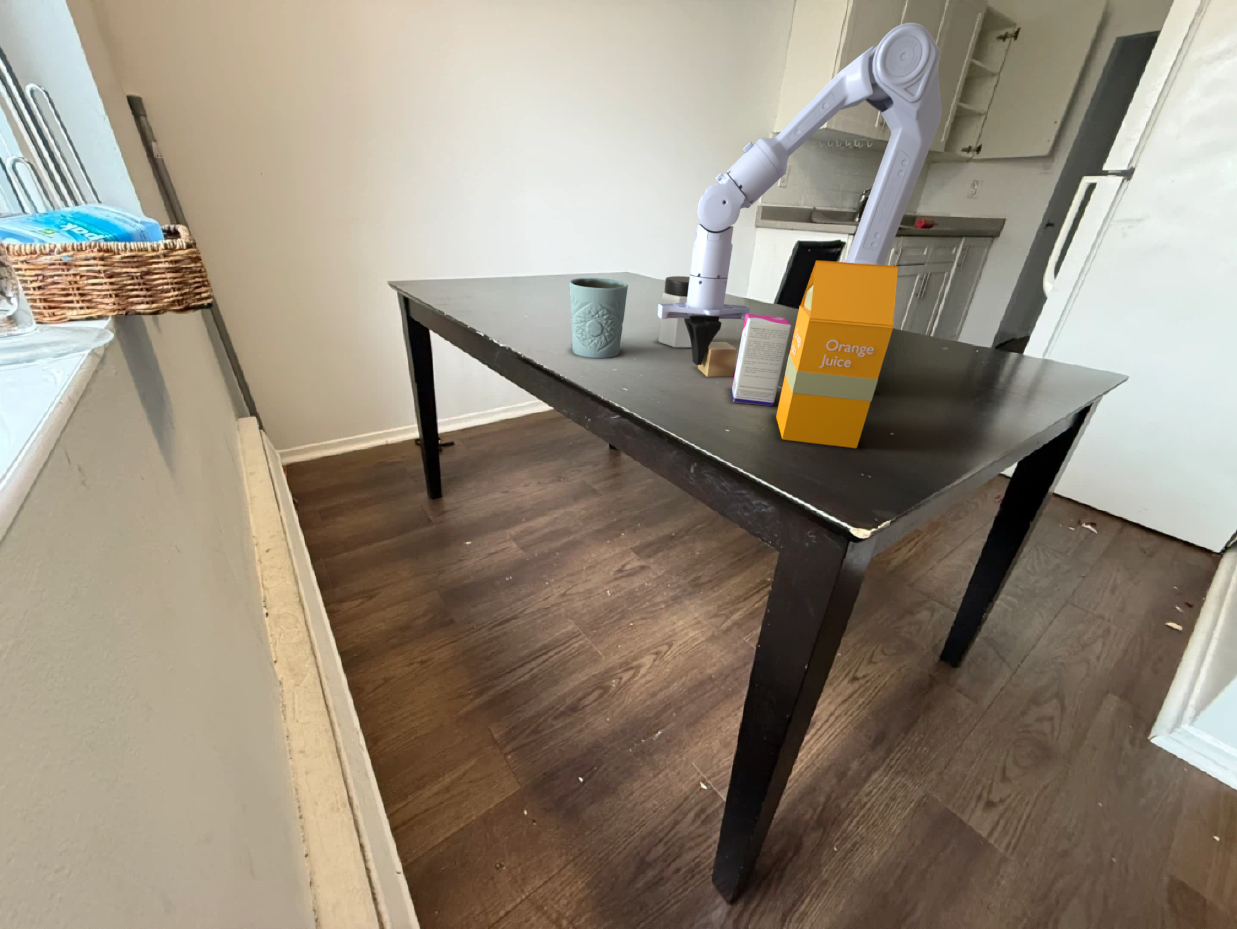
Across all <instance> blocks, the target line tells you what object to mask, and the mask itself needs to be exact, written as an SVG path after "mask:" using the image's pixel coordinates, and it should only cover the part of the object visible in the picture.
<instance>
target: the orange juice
mask: <svg viewBox="0 0 1237 929" xmlns="http://www.w3.org/2000/svg"><path fill="white" fill-rule="evenodd" d="M898 273H899V265H887V264H884V265H875V264H861V263H847V262H845V261H831V260H817V259H816V260H815V263H814V265H813V268H812V272H811V273H810V277H809V280H808V283H807V285H806V288H805V290H804V294H803V297H802V300H801V303H800V305H799V308H798V312H797V317H796V321H795V326H794V331H793V336H792V340H791V346H790V350H789V354H788V357H787V362H786V367H785V372H784V378H783V383H782V388H781V392H780V396H779V401H778V406H777V411H776V415H775V418H776V421H777V424H778V429H779V433H780V437H781V440H784V441H792V442H801V443H802V442H803V443H808V444H809V443H810V444H816V445H817V444H818V445H827V446H835V447H844V448H851V449H857V448H858V446H859V441H860V439H861V435H862V432H863V429H864V425H865V422H866V420H867V419H866V418H867V415H868V412H869V408H870V406H871V402H872V400H873V397H874V394H875V391H876V388H877V385H878V381H879V376H880V373H881V369H882V366H883V362H884V359H885V356H886V352H887V350H888V346H889V344H890V340H891V338H892V337H891V336H892V333H893V330H894V327H895V325H894V319H895V309H896V298H897V297H896V296H897V285H898Z"/></svg>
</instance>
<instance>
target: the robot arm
mask: <svg viewBox="0 0 1237 929" xmlns="http://www.w3.org/2000/svg"><path fill="white" fill-rule="evenodd" d="M941 53H942V52H941V49H940V47H939V46H938V44H937V43H936V41H935V40H934V38H933V36H932V35H931V32H929V30H928V29H927V28H926V27H925V26H924V25H922V24H921V23H916V22H905V23H901V24H899V25H897V26H895V27H893V28H891V29H890V31H888V32H887V33H886V34H885V35H884V36H883V37H882V39H881V40H880V41H879V43H878V44H877V45H876V46H875V45H872V46H871V47H869V48H868V49H866V50H865V51H864V52H863V53H861V54H860V55H859V56H857V58H855V59H854V60H852V61H851V62H850V63H849V64H847V65H846V66H845V67H844V68H842V69H841V70H840V71H839V72H838V73H836V75H834V76H833V78H831V79H830V81H829V82H828V83H827V84H826V85H825V86H824V87H823V88H822V89H821V90H820V91H819V92H818V93H817V94H816V95H815V96H814V97H813V98H812V99H811V100H810V102H809V103H807V104H806V105H805V106H804V108H803V109H801V111H799V112H798V113H797V115H796V116H794V117H793V119H792V120H791V121H790V122H789V123H788V124H787V125H786V126H785V127H784V128H783V129H782V130H781V131H780V132H779V133H778V134H777V135H776V136H775V137H760V138H758V140H756V142H754V143H753V142H752V141H749V142H748V143H747V144H746V145H745V146H744V147H743V148H742V152H743V154H742V155H741V156H740V157H739V158H738V159H737V160H736V161H735V163H733V164H732V165H731V166H730V167H729V168H728V169H727V170H726V172H724V173H721V172H719V173H718V174H717V175H716V176H715V180H716V182H717V183H715V184H712V185H710V186H709V187H707V188H706V189H705V191H704V193H703V194H702V195H701V196H700V198H699V200H698V204H697V208H696V214H697V215H696V216H697V218H698V222H699V223H698V224H697V226H696V228H695V234H694V236H695V240H694V242H693V247H692V254H691V264H690V270H689V277H690V279H689V288H688V296H687V303H671V304H662V303H658V306H657V317H658V318H659V319H660V318H661V319H667V318H684V321H685V324H686V327H687V330H688V333H689V337H690V341H691V346H692V348H691V353H692V362H693V363H694V365H696V366H698V365H701V364H702V361H703V358H704V355H705V353H706V351H707V349H708V347H709V345H710V343H711V342H713V340H714V338H715V336H716V335H717V334H718V332H719V331H720V330H721V328H722V321H720V320H741V321H745V316H746V314H750V312H751V311H750V310H751V307H749V306H747V305H739V304H727V303H725V299H726V293H727V287H728V286H727V285H728V280H729V271H730V265H731V259H732V254H733V243H732V241H733V233H734V226H733V225H734V224H736V223H737V221H738V219H739V217H740V213H741V209H749V208H750V207H752V205H754V204H755V203H756V202H757V201H758V200H759V199H760V198H761V197H762V196H763V195H764V194H765V193H767V192H768V191H769V190H770V189H771V188H772V187H773V186H774V185H775V184H776V183H777V182H778V181H779V180H781V178H782V177H783V176H784V175H785V174H786V173H787V168H788V161H789V157H790V156H791V155H792V154H793V153H795V151H797V150H798V149H799V148H800V147H801V146H802V145H803V144H805V142H807V141H808V139H810V138H811V137H812V136H813V135H814V134H815V133H816V132H817V131H819V130H820V129H821V128H822V127H823V126H824V125H825V124H826V123H827V122H828V121H829V120H831V119H832V118H833V117H834V116H835V115H836V114H837V113H838V112H839V111H842V110H845V109H850V108H853V107H857V106H859V105H860V104H861V103H863V102H864V101H865V102H866V103H867V104H868V105H869V106H871V107H873V108H874V109H876V110H877V111H878V112H879V113H880V114H881V116H882V118H883V120H884V122H885V123H886V125H887V127H888V129H889V131H890V133H891V134H890V137H889V139H888V143H887V145H886V148H885V150H884V154H883V155H882V159H881V161H880V164H879V167H878V170H877V173H876V176H875V179H874V182H873V185H872V186H871V190H870V192H869V196H868V199H867V200H866V204H865V207H864V210H863V212H862V215H861V218H860V221H859V222H858V223H859V224H858V226H857V229H856V232H855V235H854V237H853V241H852V243H851V246H850V249H849V252H848V254H847V257H846V258H845V260H844V262H847V263H861V264H875V265H886V261H887V258H888V256H889V253H890V251H891V249H892V246H893V244H894V241H895V238H896V235H897V233H898V230H899V228H900V225H901V223H902V220H903V217H904V216H905V212H906V210H907V207H908V205H909V202H910V199H911V197H912V194H913V192H914V189H915V186H916V185H917V182H918V180H919V176H920V174H921V172H922V170H923V167H924V164H925V161H926V159H927V156H928V153H929V151H930V149H931V146H932V145H933V144H932V143H933V141H934V138H935V136H936V134H937V130H938V129H939V126H940V124H941V121H942V120H941V119H942V115H943V108H942V99H941V98H942V97H941V87H940V77H939V66H940V65H939V64H940V59H941ZM699 314H701V315H699Z"/></svg>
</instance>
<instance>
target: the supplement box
mask: <svg viewBox="0 0 1237 929" xmlns="http://www.w3.org/2000/svg"><path fill="white" fill-rule="evenodd" d="M743 321H744V322H743V326H742V332H741V339H740V344H739V348H738V354H737V358H736V363H735V368H734V373H733V381H732V386H731V396H732V402H733V403H738V404H749V405H758V406H765V407H766V406H769V407H773V406H774V405H775V400H776V396H777V391H778V388H779V383H780V379H781V375H782V370H783V365H784V361H785V356H786V353H787V352H786V351H787V348H788V342H789V339H790V333H791V330H792V325H791V323H790V322H789V320H787V318H786V317H783V316H773V315H764V314H763V315H762V314H754V313H749V314H746V316H745V320H743Z"/></svg>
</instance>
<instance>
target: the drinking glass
mask: <svg viewBox="0 0 1237 929" xmlns="http://www.w3.org/2000/svg"><path fill="white" fill-rule="evenodd" d="M568 288H569V300H570V318H571V340H572V342H571V347H572V348H571V349H572V352H573V354H575V355H578V356H579V357H585V358H590V359H591V358H592V359H606V358H607V359H608V358H614V357H616V356H618V355H619V353H620V350H621V341H622V334H623V325H624V320H625V313H626V303H627V296H628V288H629V284H628V283H627V282H624V281H621V280H617V279H610V278H601V277H579V278H573V279H571V280H569V282H568Z"/></svg>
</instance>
